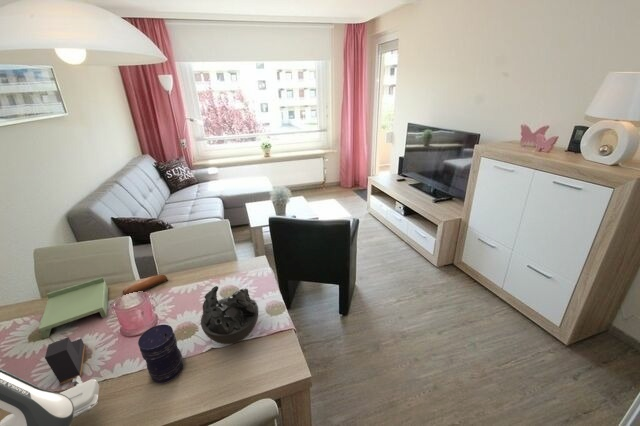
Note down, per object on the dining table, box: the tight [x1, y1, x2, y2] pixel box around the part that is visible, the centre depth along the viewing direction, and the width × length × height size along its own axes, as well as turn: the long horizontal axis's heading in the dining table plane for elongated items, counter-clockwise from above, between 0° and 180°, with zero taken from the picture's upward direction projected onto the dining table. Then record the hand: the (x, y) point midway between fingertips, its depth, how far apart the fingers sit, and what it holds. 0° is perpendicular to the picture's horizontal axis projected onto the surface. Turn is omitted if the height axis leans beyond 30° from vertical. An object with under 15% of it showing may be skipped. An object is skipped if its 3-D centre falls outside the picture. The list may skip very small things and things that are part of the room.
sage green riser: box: [38, 276, 109, 340], centre depth 122 cm, size 20×22×7 cm
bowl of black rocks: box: [200, 285, 259, 345], centre depth 105 cm, size 20×20×19 cm
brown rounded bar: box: [122, 274, 168, 296], centre depth 136 cm, size 18×7×7 cm
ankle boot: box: [44, 337, 86, 386], centre depth 97 cm, size 5×15×12 cm, turn 33°
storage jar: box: [137, 324, 185, 385], centre depth 93 cm, size 10×10×15 cm
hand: (56, 386), depth 84 cm, fingers open, 8 cm apart
